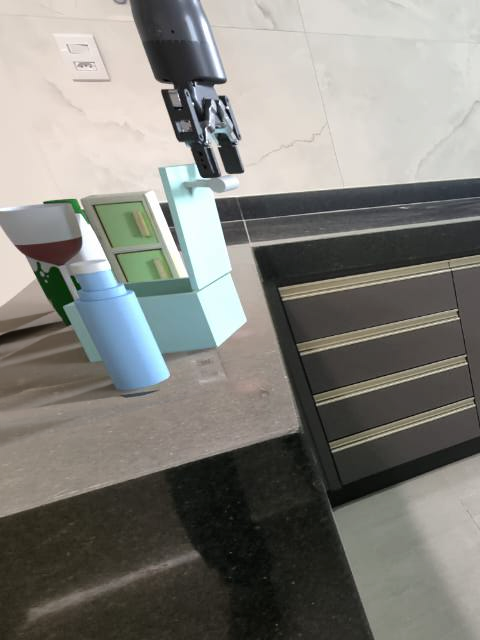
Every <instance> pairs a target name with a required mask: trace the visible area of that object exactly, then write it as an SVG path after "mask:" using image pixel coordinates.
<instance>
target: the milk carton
mask: <svg viewBox="0 0 480 640" xmlns="http://www.w3.org/2000/svg"><path fill="white" fill-rule="evenodd" d="M53 203H71V205H72V207H73V209H74V212H75V214H76V217H77V220H78V223H79V226H80V229H81V234H82V248H81V250H80V251H79V253H78V254H76V255H75V256H74V257H73V258H72V259H70V260H69V261H68V262H66V263H65V267H66V269H67V271H68V273H69V275H70V277H71V280H72V282H73V284H74V286H75V288H76V290H77V291H78V290H81V289H82V288H81V286H80V284H79V282H78V280H77V278H76V276H75V274H73V272H72V270H71V268H70V265H71V264H73V263H77V262H82V261H88V260H98V259H106V260H107V258H106V256H105V253H104V251H103V249H102V247H101V245H100V243H99V240H98V238H97V236H96V234H95V232H94V230H93V228H92V225H91V223H90V221H89V219H88V217H87V215H86V212H85V210H82V207H81V206H80V203H79V201H78V199H77V198H63V199H52V200H50V199H49V200H45V201H42V204H53ZM25 259H26V261H27V262H28V265H29V266H30V268H31V270H32V272H33V274H34V276H35V278H36V280H37V282H38V285H40V288H41V290H42V291H43V293H44V295H45V297H46V299H47V301H48V302H49V304H50V305H51V307H52V308H53V309H54V311H55V312H56V313H57V314H58V316H59V317H60V318H61V320H62V321H63V323H64V324H65V325H66V327H70V326H72V324H71V322H70V320H69V318H68V316H67V314H66V312H65V310H64V308H63V306H65V305H67V304H70V303H72V302H74V298H73V296H72V294H71V292H70V290H69V288H68V286H67V284H66V282H65V280H64V278H63V276H62V274H61V272H60V270H59V268H58V266H57V265H54V264H50V263H46V262H41V261H38V260H34V259H32V258H29V257H27V256H25ZM111 271H112V269H111ZM112 273H113V271H112ZM113 276H114V278H115V280H116V282H117V279H116V277H115V275H114V273H113ZM117 283H118V282H117Z"/></svg>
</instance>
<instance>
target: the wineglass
mask: <svg viewBox="0 0 480 640" xmlns="http://www.w3.org/2000/svg"><path fill="white" fill-rule="evenodd" d="M0 228H1V229H2V231H3V233H4V234H5V235H6V236H7V238H8V239H9V241H10V242H11V243H12V244H13V246H15V248H16V249H17V250H18V251H19V252H20V253H21V254H22V255H24V256H25V257H26V256H27V257H29V258H32V259H34V260H38V261H41V262H46V263H50V264H54V265H57V266H58V268H59V270H60V272H61V274H62V276H63V278H64V280H65V282H66V284H67V286H68V288H69V290H70V292H71V294H72V296H73V298H74V300H76V299H78V298H79V296H78V294H77V290H76V288H75V286H74V284H73V282H72V280H71V277H70V275H69V273H68V271H67V269H66V267H65V263H66V262H68V261H69V260H70V259H72V258H73V257H74V256H75V255H76V254H78V253H79V251H80V250H81V248H82V234H81V229H80V226H79V223H78V220H77V217H76V214H75V212H74V209H73V207H72V205H71V203H53V204H43V203H40V204H39V203H38V204H29V205H28V204H27V205H19V206H18V205H17V206H9V207H2V208H0Z"/></svg>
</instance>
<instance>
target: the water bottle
mask: <svg viewBox="0 0 480 640" xmlns="http://www.w3.org/2000/svg"><path fill="white" fill-rule="evenodd" d="M70 268H71V270H72V272H73V274H75V276H76V278H77V280H78V282H79V284H80V286H81V288H82V289H81V290H78V291H77V294H78V296H79V298H78V299H76V300H74V304H75V306H76V308H77V310H78V312H79V314H80V316H81V318H82V320H83V322H84V324H85V326H86V328H87V330H88V332H89V334H90V336H91V339H92V341H93V343H94V345H95V347H96V349H97V351H98V353H99V355H100V357H101V359H102V361H101V362H102V363H103V365H104V367H105V370H106V371H107V373H108V375H109V378H110V379H111V382H112V383H113V386H114V387H115V390H117V391H133V390H138V389H144V388H147V387H150V386H154V385H156V384H159V383H162V382H163V381H165V380H167V379H168V378H169V377H170V376H171V374H170V371H169V369H168V367H167V364H166V362H165V359H164V357H163V354H161V353H160V350H159V348H158V346H157V343H156V341H155V339H154V337H153V334H152V332H151V330H150V327H149V325H148V323H147V321H146V318H145V316H144V314H143V311H142V309H141V307H140V305H139V302H138V300H137V298H136V295H135V293H134V291H132V290H126V289H125V287H124V284H121V283H118V282H116V281H117V279H116V280H115V278H116V277H115V278H114V276H115V275H114V276H113V274H114V273H112V272H113V271H111V266H110V264H109V262H108V260H106V259H98V260H88V261H82V262H77V263H73V264H71V265H70ZM158 391H160V389H155V390H149V391H142V392H134V393H127V394H120V395H119V397H121V398H122V397H123V398H135V397H141V396H145V395H149V394H153V393H156V392H158Z"/></svg>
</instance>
